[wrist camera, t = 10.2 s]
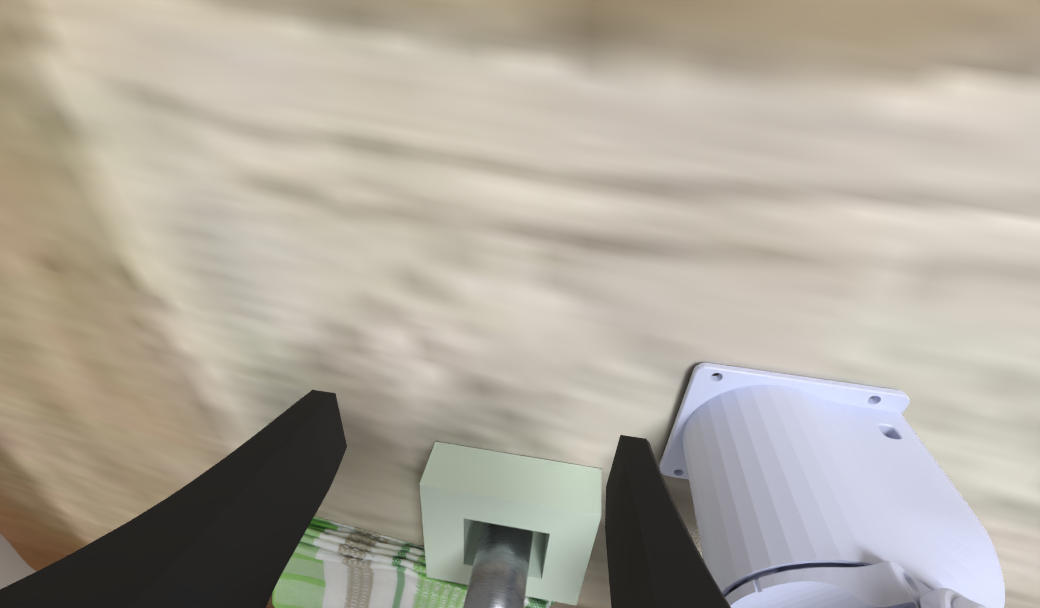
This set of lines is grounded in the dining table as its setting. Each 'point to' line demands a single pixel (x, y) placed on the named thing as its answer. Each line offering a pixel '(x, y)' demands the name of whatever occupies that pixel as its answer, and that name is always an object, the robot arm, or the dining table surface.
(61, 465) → the dining table surface
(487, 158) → the dining table surface
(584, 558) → the socket
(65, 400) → the dining table surface
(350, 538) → the dish towel
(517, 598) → the peg
